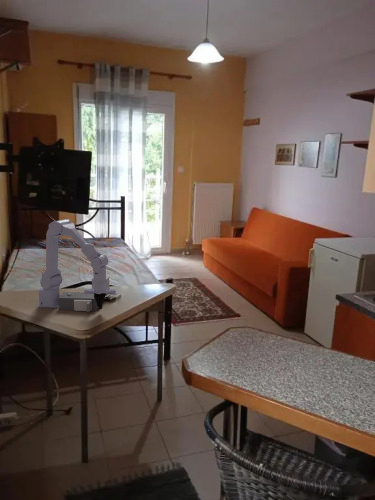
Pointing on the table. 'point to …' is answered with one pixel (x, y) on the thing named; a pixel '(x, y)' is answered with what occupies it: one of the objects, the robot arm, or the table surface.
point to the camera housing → (68, 299)
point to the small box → (106, 283)
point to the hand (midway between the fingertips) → (100, 308)
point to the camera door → (82, 305)
